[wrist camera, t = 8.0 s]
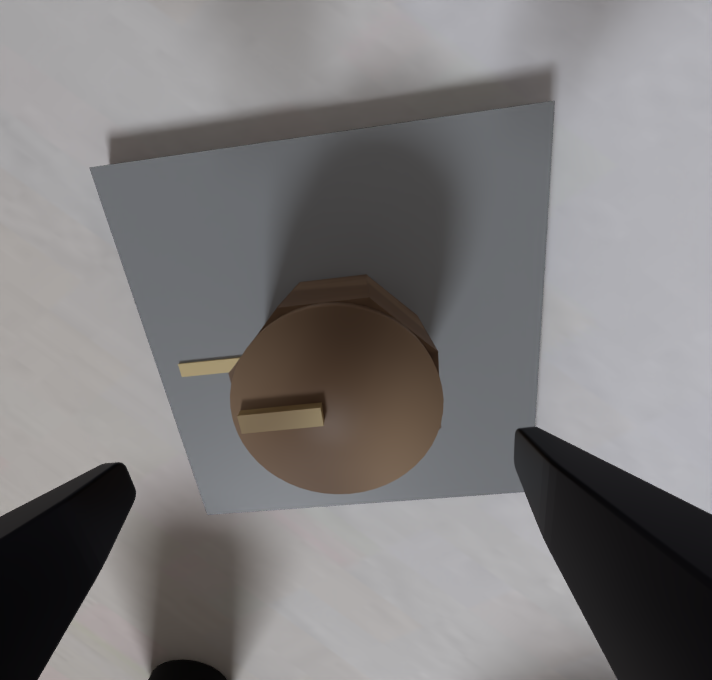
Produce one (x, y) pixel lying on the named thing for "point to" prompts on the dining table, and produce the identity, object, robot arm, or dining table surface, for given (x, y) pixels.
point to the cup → (185, 671)
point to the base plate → (342, 259)
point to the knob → (338, 388)
